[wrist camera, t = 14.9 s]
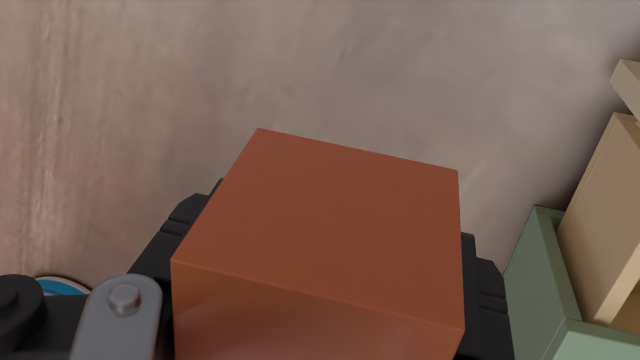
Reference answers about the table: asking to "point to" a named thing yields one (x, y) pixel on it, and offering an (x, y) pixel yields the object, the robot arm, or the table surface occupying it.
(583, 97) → the table surface
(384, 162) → the block
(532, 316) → the cabinet
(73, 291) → the beverage bottle
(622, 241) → the drawer
